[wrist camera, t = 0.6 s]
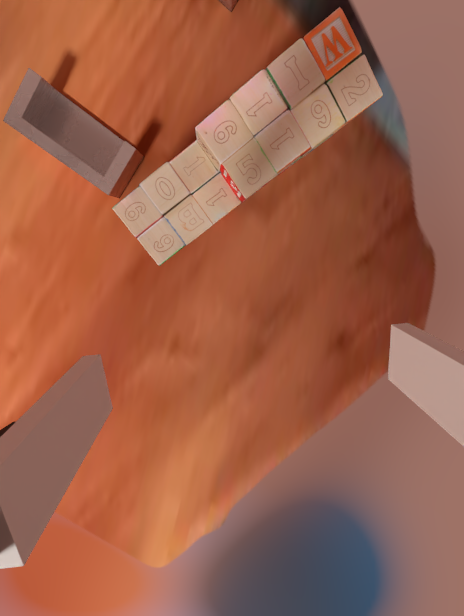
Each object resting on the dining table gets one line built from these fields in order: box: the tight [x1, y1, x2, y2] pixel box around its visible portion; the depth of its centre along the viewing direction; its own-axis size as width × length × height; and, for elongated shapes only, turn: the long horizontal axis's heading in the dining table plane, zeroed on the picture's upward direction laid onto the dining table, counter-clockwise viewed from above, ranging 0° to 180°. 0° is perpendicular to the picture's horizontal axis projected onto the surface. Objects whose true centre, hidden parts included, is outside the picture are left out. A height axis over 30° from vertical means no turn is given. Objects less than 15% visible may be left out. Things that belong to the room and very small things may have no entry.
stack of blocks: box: [112, 7, 383, 266], centre depth 27 cm, size 21×6×12 cm, turn 126°
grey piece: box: [3, 68, 144, 198], centre depth 30 cm, size 11×5×4 cm, turn 54°
